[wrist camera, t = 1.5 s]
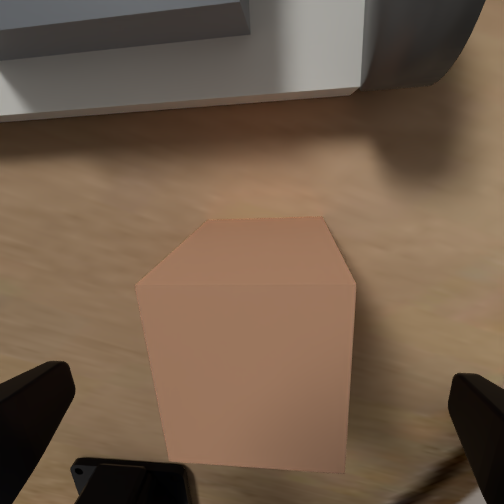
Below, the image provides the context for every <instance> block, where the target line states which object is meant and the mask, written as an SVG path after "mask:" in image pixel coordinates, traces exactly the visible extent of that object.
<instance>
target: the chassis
mask: <svg viewBox="0 0 504 504" xmlns="http://www.w3.org/2000/svg"><path fill="white" fill-rule="evenodd" d="M484 3H485V0H0V122H11V121H24V120H37V119H50V118H63V117H76V116H89V115H102V114H115V113H128V112H140V111H153V110H166V109H179V108H192V107H205V106H218V105H231V104H244V103H257V102H270V101H283V100H296V99H309V98H321V97H334V96H347V95H351V94H352V93H353V92H354V91H356V90H357V89H358V88H359V89H360V90H361V91H373V90H386V89H399V88H411V87H424V86H430V85H432V84H434V83H436V82H437V81H439V80H440V79H441V78H442V77H443V76H444V75H445V74H446V73H447V72H448V70H449V69H450V68H451V66H452V65H453V64H454V62H455V61H456V60H457V58H458V56H459V55H460V53H461V51H462V50H463V48H464V46H465V44H466V42H467V40H468V39H469V37H470V35H471V33H472V31H473V28H474V26H475V24H476V22H477V20H478V17H479V15H480V13H481V10H482V8H483V5H484Z"/></svg>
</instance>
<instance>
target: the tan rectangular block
mask: <svg viewBox="0 0 504 504" xmlns="http://www.w3.org/2000/svg"><path fill="white" fill-rule="evenodd" d="M135 289H136V294H137V300H138V305H139V310H140V315H141V320H142V325H143V330H144V335H145V340H146V345H147V350H148V355H149V360H150V366H151V371H152V376H153V381H154V386H155V391H156V396H157V401H158V406H159V411H160V416H161V421H162V426H163V432H164V437H165V442H166V447H167V452H168V457H169V461H171V462H184V463H198V464H212V465H226V466H240V467H254V468H268V469H282V470H295V471H309V472H323V473H337V474H345V463H346V447H347V430H348V414H349V397H350V381H351V365H352V348H353V332H354V316H355V299H356V283H355V281H354V279H353V277H352V275H351V273H350V271H349V269H348V267H347V265H346V263H345V261H344V259H343V257H342V255H341V253H340V251H339V249H338V247H337V245H336V243H335V241H334V239H333V237H332V235H331V233H330V231H329V229H328V227H327V225H326V223H325V221H324V219H323V217H289V218H256V219H223V220H207V221H206V222H204V223H203V224H202V225H201V226H200V227H199V228H198V229H197V230H196V231H194V232H193V233H192V234H191V235H190V236H189V237H188V238H187V239H186V240H184V241H183V242H182V243H181V244H180V245H179V246H178V247H177V248H175V249H174V250H173V251H172V252H171V253H170V254H169V255H168V256H167V257H165V258H164V259H163V260H162V261H161V262H160V263H159V264H158V265H157V266H155V267H154V268H153V269H152V270H151V271H150V272H149V273H148V274H147V275H145V276H144V277H143V278H142V279H141V280H140V281H139V282H138V283H137V284H135Z"/></svg>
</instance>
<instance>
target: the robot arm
mask: <svg viewBox="0 0 504 504" xmlns="http://www.w3.org/2000/svg"><path fill="white" fill-rule="evenodd" d="M74 395H75V384H74V381H73V377H72V374H71V371H70V367H69V365H68V364H67V363H66V362H64V361H49V362H46V363H44V364H41V365H39V366H37V367H35V368H33V369H31V370H29V371H27V372H24V373H22V374H20V375H18V376H16V377H14V378H12V379H10V380H7V381H5V382H3V383H1V384H0V504H12V503H13V502H14V500H15V499H16V497H17V495H18V494H19V492H20V491H21V489H22V488H23V486H24V485H25V483H26V482H27V480H28V478H29V477H30V475H31V474H32V472H33V471H34V469H35V467H36V466H37V464H38V462H39V461H40V459H41V457H42V455H43V454H44V452H45V450H46V448H47V446H48V445H49V443H50V441H51V439H52V437H53V435H54V433H55V432H56V430H57V428H58V426H59V424H60V422H61V421H62V419H63V417H64V415H65V413H66V411H67V409H68V408H69V406H70V404H71V402H72V400H73V398H74ZM448 410H449V414H450V417H451V419H452V422H453V424H454V427H455V429H456V432H457V434H458V437H459V439H460V441H461V444H462V446H463V449H464V451H465V454H466V456H467V459H468V461H469V464H470V466H471V468H472V471H473V473H474V476H475V478H476V481H477V483H478V485H479V488H480V490H481V492H482V495H483V497H484V499H485V501H486V503H487V504H504V389H502V388H501V387H499V386H497V385H496V384H494V383H492V382H490V381H489V380H487V379H485V378H484V377H482V376H480V375H478V374H474V373H457V374H455V375H454V377H453V379H452V385H451V390H450V395H449V400H448ZM70 470H71V473H72V476H73V479H74V482H75V485H76V488H77V491H78V494H79V497H78V498H77V500H76V502H75V503H74V504H192V502H191V496H190V490H189V485H188V479H187V473H186V470H185V469H184V468H183V467H182V466H180V465H173V464H159V463H146V462H132V461H118V460H104V459H91V458H78V459H76V460H75V462H74V463H73V465H72V466H71V468H70Z"/></svg>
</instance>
